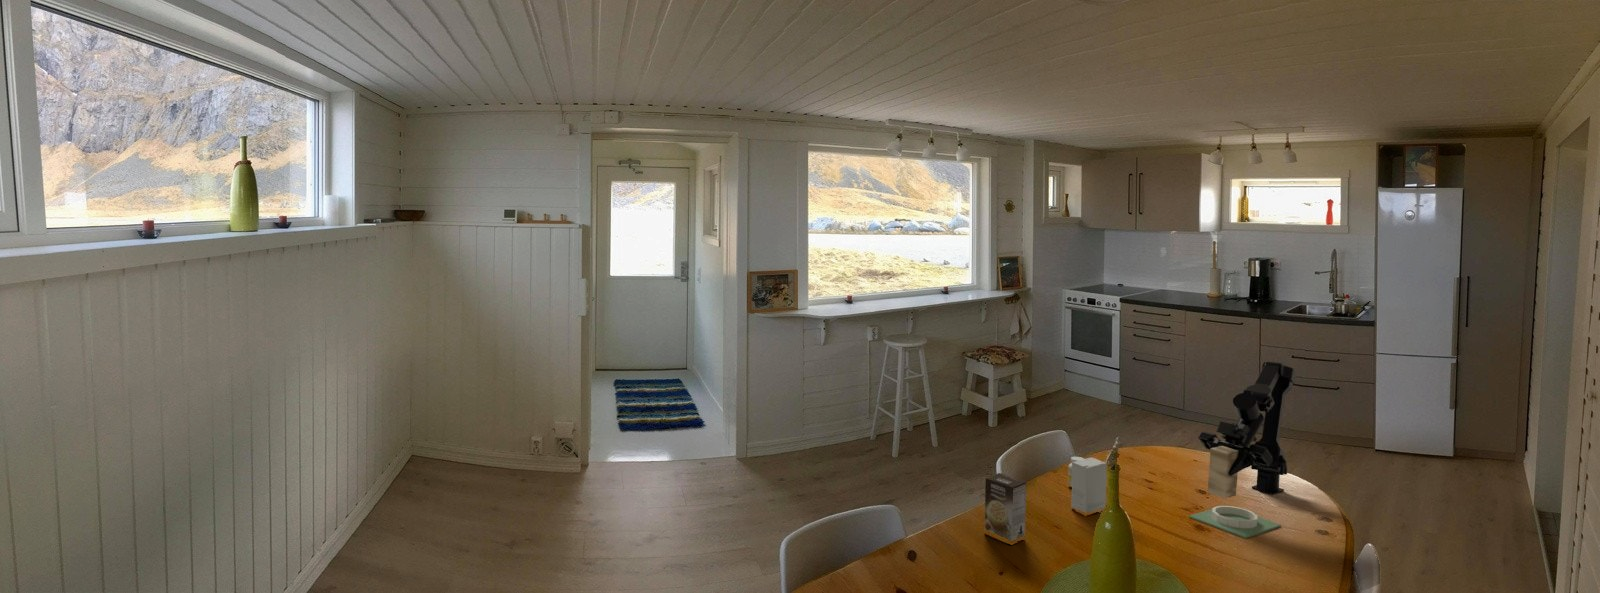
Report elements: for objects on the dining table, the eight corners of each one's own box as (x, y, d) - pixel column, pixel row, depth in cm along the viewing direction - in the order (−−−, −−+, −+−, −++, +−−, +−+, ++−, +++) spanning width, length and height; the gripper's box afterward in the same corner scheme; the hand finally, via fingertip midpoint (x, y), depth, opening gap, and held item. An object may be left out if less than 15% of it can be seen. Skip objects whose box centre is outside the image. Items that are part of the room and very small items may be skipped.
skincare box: (1090, 505, 216) (1091, 456, 214) (1107, 512, 210) (1108, 462, 209) (1069, 510, 212) (1070, 460, 211) (1086, 517, 207) (1087, 466, 205)
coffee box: (983, 535, 196) (983, 477, 194) (997, 528, 200) (998, 472, 198) (1011, 546, 189) (1012, 486, 187) (1026, 540, 192) (1027, 481, 191)
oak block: (1219, 489, 208) (1221, 445, 207) (1235, 495, 204) (1239, 450, 202) (1207, 492, 206) (1210, 448, 204) (1224, 498, 202) (1227, 453, 200)
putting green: (1224, 506, 213) (1224, 498, 213) (1280, 526, 199) (1281, 517, 199) (1188, 517, 206) (1189, 508, 206) (1245, 538, 192) (1245, 529, 191)
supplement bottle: (1064, 487, 230) (1065, 458, 230) (1073, 483, 234) (1074, 454, 233) (1080, 492, 226) (1081, 462, 225) (1089, 488, 230) (1089, 458, 229)
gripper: (1203, 404, 213) (1177, 446, 209) (1268, 418, 196) (1241, 465, 192) (1219, 426, 217) (1193, 468, 213) (1284, 443, 200) (1258, 488, 196)
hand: (1220, 472), depth 203 cm, fingers closed on oak block, 5 cm apart
